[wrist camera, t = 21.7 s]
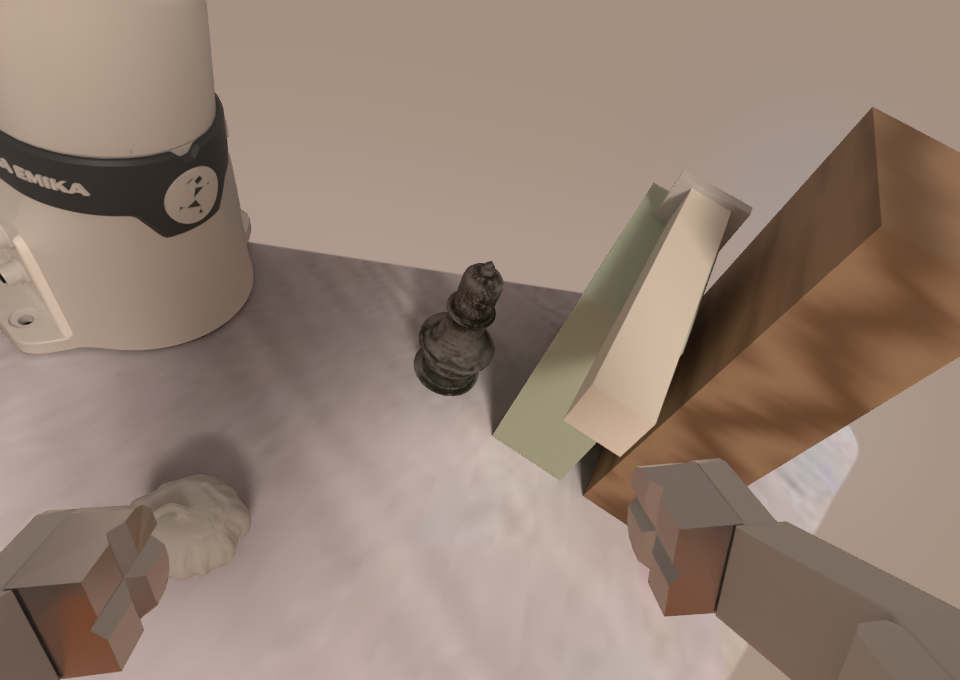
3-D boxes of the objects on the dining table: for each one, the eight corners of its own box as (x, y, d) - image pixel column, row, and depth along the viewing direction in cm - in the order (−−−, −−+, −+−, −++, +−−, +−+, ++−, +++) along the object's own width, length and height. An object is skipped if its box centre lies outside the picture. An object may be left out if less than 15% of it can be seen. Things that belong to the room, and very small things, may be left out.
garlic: (116, 589, 28) (90, 559, 24) (151, 490, 31) (133, 450, 27) (239, 592, 29) (234, 564, 25) (260, 497, 33) (257, 460, 29)
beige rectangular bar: (543, 407, 23) (574, 364, 20) (657, 209, 36) (684, 169, 34) (640, 470, 22) (684, 434, 20) (720, 245, 35) (752, 207, 33)
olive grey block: (492, 435, 40) (583, 292, 28) (564, 323, 50) (653, 182, 38) (559, 480, 39) (682, 353, 27) (619, 357, 49) (728, 225, 37)
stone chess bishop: (406, 392, 40) (443, 284, 31) (414, 332, 44) (449, 221, 35) (480, 405, 41) (536, 305, 33) (481, 346, 45) (532, 242, 36)
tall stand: (583, 495, 39) (881, 225, 20) (638, 368, 49) (872, 106, 30) (654, 542, 38) (1034, 310, 19) (695, 404, 48) (973, 159, 29)
